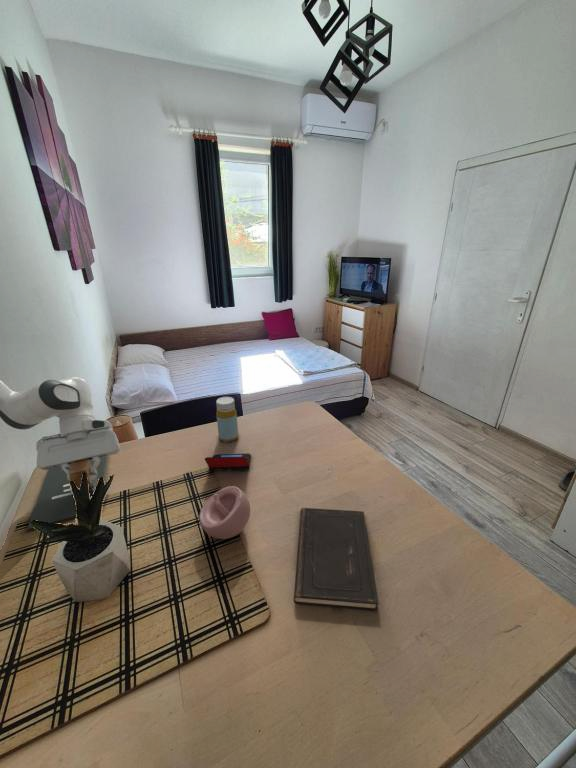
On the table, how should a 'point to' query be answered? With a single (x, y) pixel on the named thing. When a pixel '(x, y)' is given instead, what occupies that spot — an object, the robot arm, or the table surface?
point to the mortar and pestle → (225, 513)
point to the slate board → (59, 496)
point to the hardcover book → (334, 561)
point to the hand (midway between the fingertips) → (82, 476)
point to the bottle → (226, 419)
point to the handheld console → (228, 462)
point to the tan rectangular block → (77, 471)
